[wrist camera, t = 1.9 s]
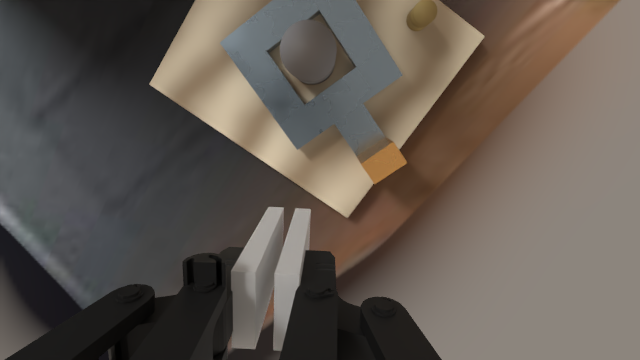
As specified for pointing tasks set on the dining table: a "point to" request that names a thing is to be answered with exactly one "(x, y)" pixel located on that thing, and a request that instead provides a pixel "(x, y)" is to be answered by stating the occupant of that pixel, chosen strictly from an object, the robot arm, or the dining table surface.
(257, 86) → the flange plate
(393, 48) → the post board
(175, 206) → the dining table surface
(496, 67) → the dining table surface
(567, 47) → the dining table surface
